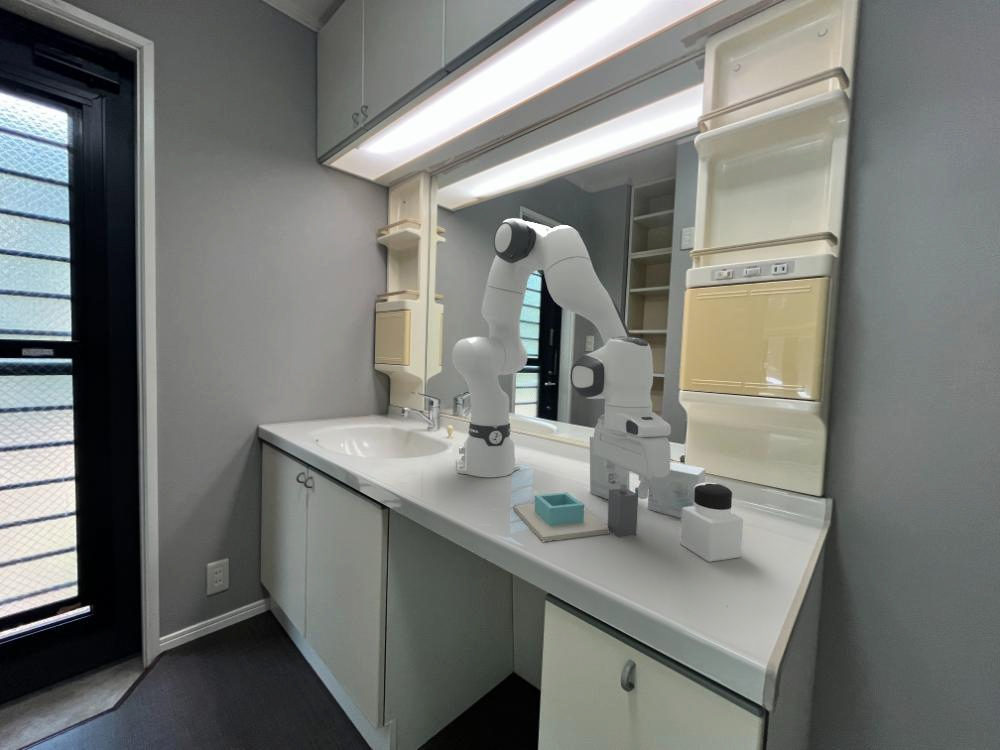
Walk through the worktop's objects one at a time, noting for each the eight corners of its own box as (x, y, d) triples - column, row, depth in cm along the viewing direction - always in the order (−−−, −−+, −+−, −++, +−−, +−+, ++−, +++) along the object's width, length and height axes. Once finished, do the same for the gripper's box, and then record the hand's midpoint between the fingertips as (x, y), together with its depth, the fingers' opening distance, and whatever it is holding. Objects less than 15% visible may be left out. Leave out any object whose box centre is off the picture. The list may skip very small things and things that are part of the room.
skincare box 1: (629, 498, 101) (632, 438, 100) (612, 503, 98) (615, 440, 97) (603, 488, 108) (605, 432, 107) (587, 492, 105) (589, 434, 104)
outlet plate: (513, 510, 92) (514, 490, 92) (570, 504, 96) (571, 485, 96) (542, 542, 77) (543, 518, 77) (608, 533, 81) (609, 511, 81)
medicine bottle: (741, 557, 73) (745, 490, 72) (708, 563, 71) (712, 493, 70) (710, 539, 79) (713, 478, 79) (679, 544, 77) (682, 480, 77)
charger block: (607, 528, 83) (609, 482, 83) (624, 526, 85) (626, 481, 84) (618, 537, 80) (620, 489, 79) (636, 535, 81) (638, 487, 80)
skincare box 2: (646, 509, 94) (648, 464, 94) (656, 502, 99) (658, 458, 99) (695, 522, 88) (698, 473, 87) (703, 514, 92) (706, 467, 92)
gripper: (586, 413, 90) (585, 476, 90) (647, 429, 70) (645, 509, 71) (611, 412, 92) (610, 474, 92) (678, 427, 72) (675, 505, 73)
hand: (626, 489), depth 81 cm, fingers open, 8 cm apart
